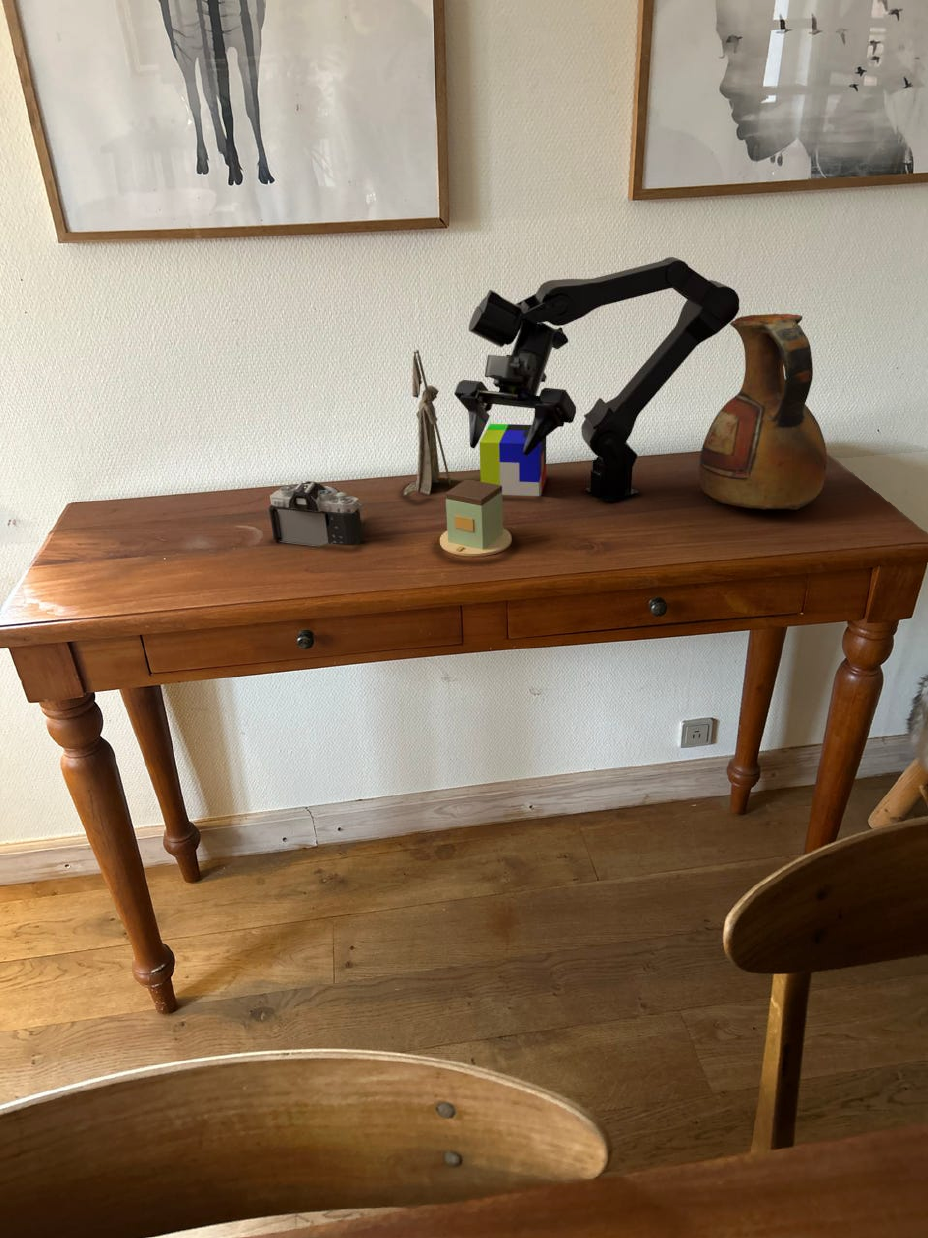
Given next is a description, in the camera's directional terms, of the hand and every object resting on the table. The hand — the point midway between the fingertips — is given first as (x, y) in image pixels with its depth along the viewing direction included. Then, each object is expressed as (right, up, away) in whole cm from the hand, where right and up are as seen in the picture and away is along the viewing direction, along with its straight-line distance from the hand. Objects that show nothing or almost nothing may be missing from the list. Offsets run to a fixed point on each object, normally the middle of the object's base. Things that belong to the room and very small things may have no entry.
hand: (497, 450), depth 137 cm
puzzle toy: (+4, -3, +21) cm, 22 cm away
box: (-3, -14, +1) cm, 14 cm away
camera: (-28, -13, +6) cm, 31 cm away
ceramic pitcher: (+44, -6, +12) cm, 46 cm away
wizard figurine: (-12, -3, +21) cm, 25 cm away
